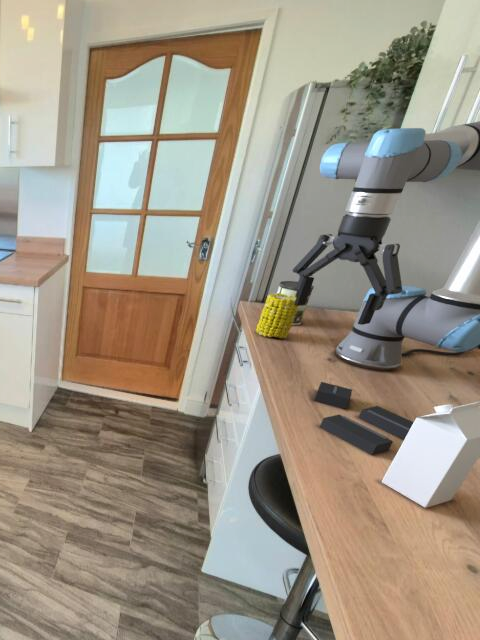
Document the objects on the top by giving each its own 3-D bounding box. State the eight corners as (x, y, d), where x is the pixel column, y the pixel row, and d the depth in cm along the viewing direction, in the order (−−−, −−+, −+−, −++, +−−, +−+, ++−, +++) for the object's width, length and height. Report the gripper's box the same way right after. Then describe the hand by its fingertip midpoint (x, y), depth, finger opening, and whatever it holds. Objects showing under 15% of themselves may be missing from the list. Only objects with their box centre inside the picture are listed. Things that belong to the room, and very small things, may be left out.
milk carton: (451, 500, 78) (509, 412, 70) (424, 508, 76) (480, 419, 68) (406, 475, 84) (453, 391, 76) (380, 482, 82) (426, 397, 74)
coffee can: (300, 319, 164) (313, 283, 158) (301, 327, 156) (314, 289, 150) (268, 314, 169) (279, 279, 163) (267, 322, 161) (279, 285, 155)
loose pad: (317, 391, 114) (321, 381, 113) (347, 399, 110) (352, 389, 109) (313, 400, 110) (317, 390, 109) (345, 409, 106) (350, 398, 105)
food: (249, 338, 151) (265, 333, 156) (287, 341, 141) (302, 337, 146) (253, 294, 148) (268, 291, 153) (292, 295, 138) (307, 292, 143)
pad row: (372, 414, 104) (377, 404, 103) (428, 440, 94) (433, 430, 93) (319, 426, 99) (323, 417, 98) (371, 455, 90) (377, 444, 89)
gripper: (294, 209, 96) (265, 299, 106) (434, 223, 75) (383, 335, 85) (316, 207, 99) (287, 296, 108) (458, 221, 78) (406, 330, 87)
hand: (329, 313), depth 97 cm, fingers open, 13 cm apart
